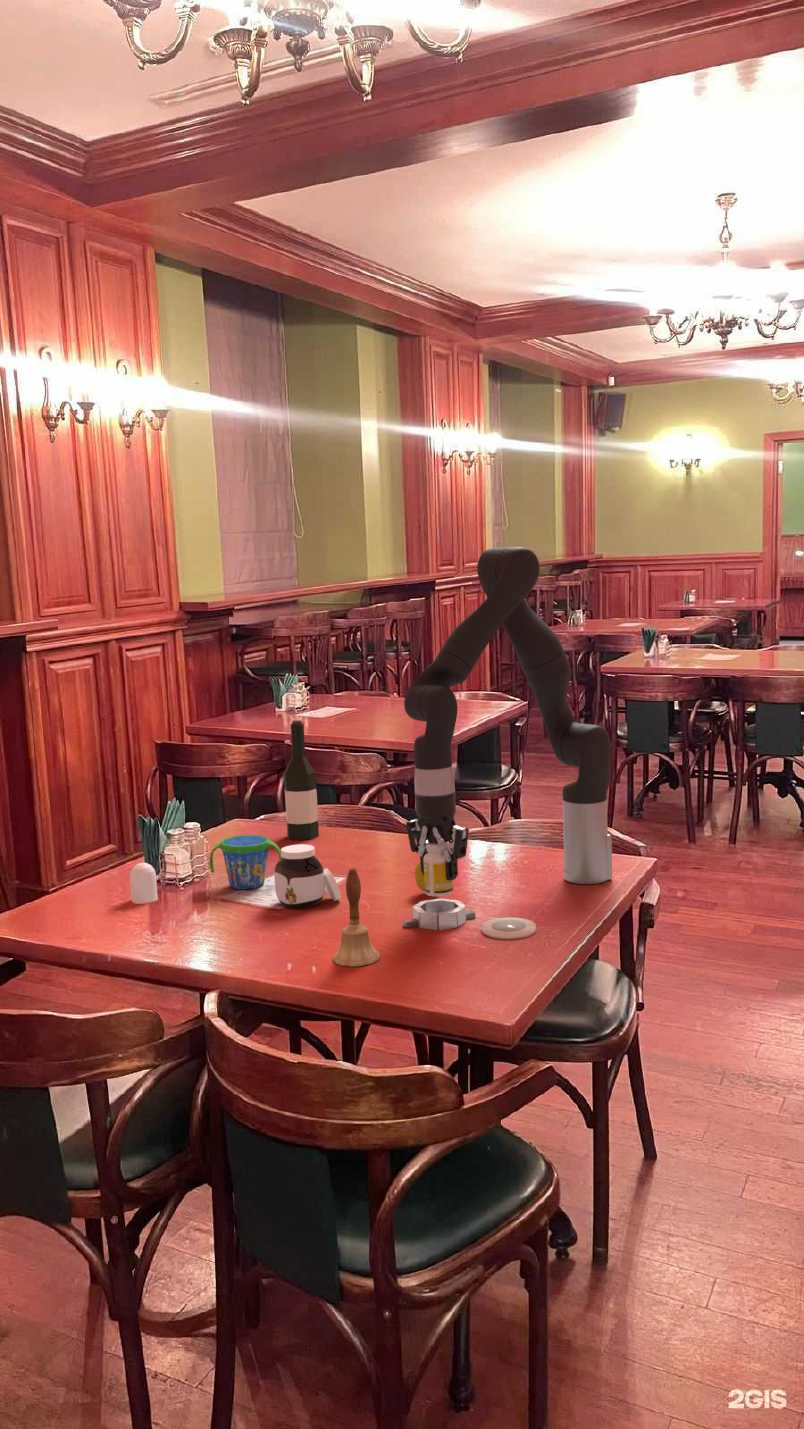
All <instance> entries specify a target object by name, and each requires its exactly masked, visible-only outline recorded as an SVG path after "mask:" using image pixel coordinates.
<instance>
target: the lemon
mask: <svg viewBox="0 0 804 1429" xmlns="http://www.w3.org/2000/svg"><path fill="white" fill-rule="evenodd" d="M414 879H415V883H416V886H417V887H418V888H419V889H420V890H422V891H423V892H425V883H424V875H423V874H422V872H421V864H420V861H418V863H417V865H416V867H415V871H414Z"/></svg>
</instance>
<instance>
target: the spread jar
mask: <svg viewBox="0 0 804 1429" xmlns="http://www.w3.org/2000/svg"><path fill="white" fill-rule="evenodd" d="M280 851H281V856H282V858H281V859H280V860H278V861H277V863H276V865H275V866H274V888H275V895H276V897H277V899H278V901H279V903H280V904H281V905H282V906H284V907H285V908H287V909H294V910H302V909H309V908H312V907H316V906H317V905H318V904H319V903H320V902H322V901H323V898H324V897H325V892H327V894H328V895H329V897H330V898H331V899H332V901H333V902H337V901H338V900H341V899H342V893H341V891H340V888H339V886H338V883H337V881H336V878H334V874H332V871H330V870H329V869H328V868H327V867H326V868H324V866H323V865H322V863H321V861H320V860H319V858H317V857H316V850H315V846H313V845H311V844H303V843H302V844H293V845H292V844H290V845H287V846H283V847H282V848H280Z"/></svg>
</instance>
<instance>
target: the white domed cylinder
mask: <svg viewBox="0 0 804 1429" xmlns="http://www.w3.org/2000/svg"><path fill="white" fill-rule="evenodd" d="M156 874H157V873H156V870H155V868H154V867H153V866H152V865H151V864H149V863H147V862H139V863H137V864H136V865H133V867H132V869H131V870H130V873H129V882H130V884H129V885H130V896H131V903H133V904H140V905H142V904H143V905H144V904H150V903H154V902H156V901H157V900H158V899H159V898H158V886H157V875H156Z"/></svg>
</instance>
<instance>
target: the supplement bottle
mask: <svg viewBox="0 0 804 1429" xmlns="http://www.w3.org/2000/svg"><path fill="white" fill-rule="evenodd" d="M445 844H447V845H448V842H446V843H445ZM426 848H427V851H428V853H427V854H426V855H425V856H424V858H423V862H424V883H425V891H424V892H425V894H426V895H427V896H429V897H434V898H435V897H436V898H438V897H439V898H440V897H447V896H449V895H452V893H453V892H454V880H451V881H449V880H447V879H446V858H445V855H444V853H443V851H441V850H440V847H439V844H436V843H434V842H433V843H429V842H428V843H427V844H426Z"/></svg>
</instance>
